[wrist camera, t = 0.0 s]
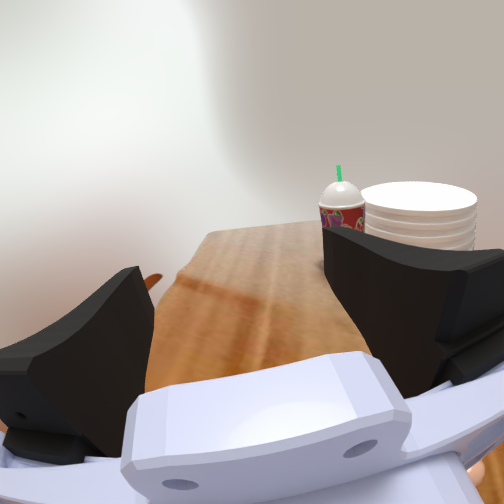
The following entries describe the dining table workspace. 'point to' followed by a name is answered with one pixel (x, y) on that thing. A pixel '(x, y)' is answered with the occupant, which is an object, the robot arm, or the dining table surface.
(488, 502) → the dining table surface
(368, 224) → the plate stack
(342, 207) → the smoothie
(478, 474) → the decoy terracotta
